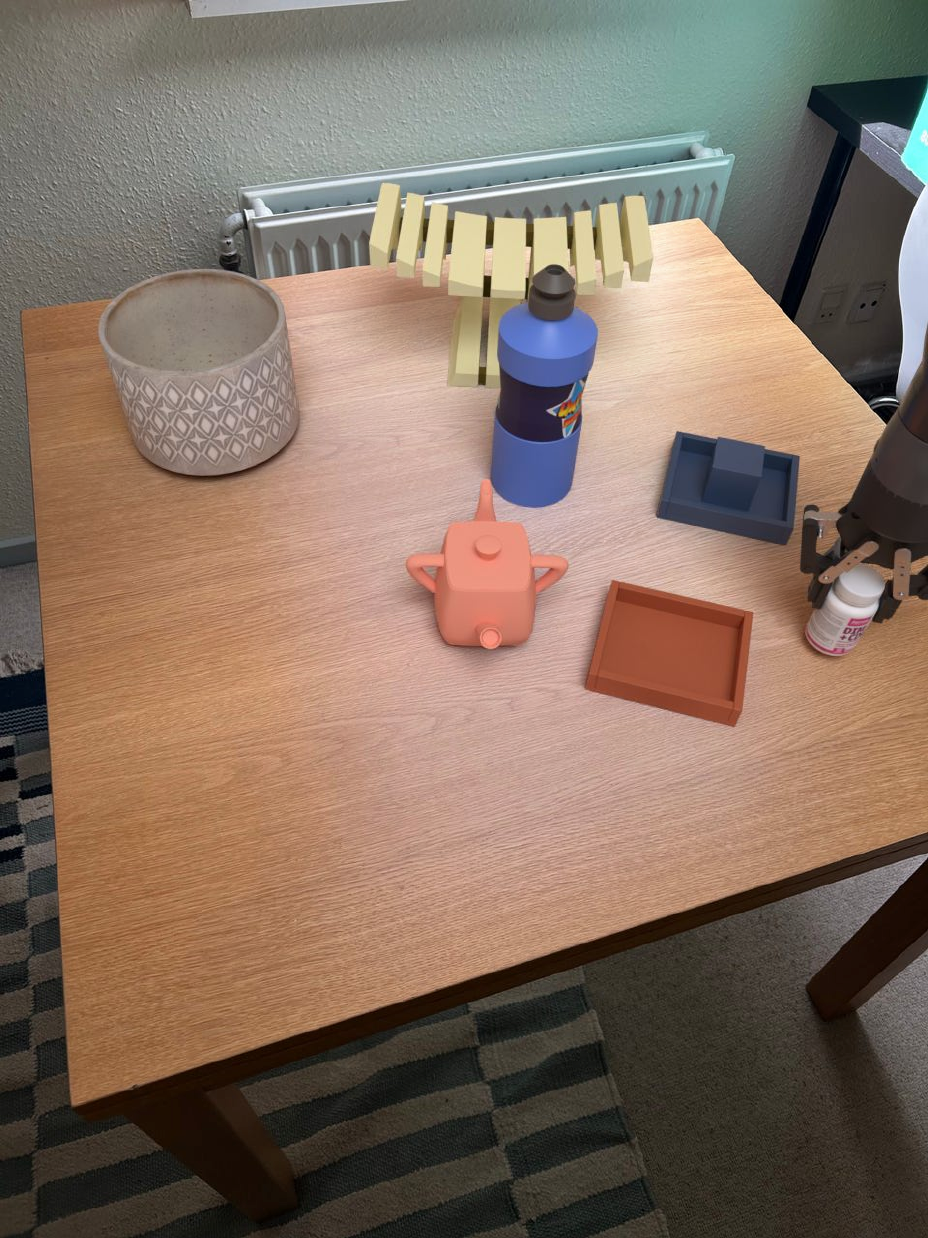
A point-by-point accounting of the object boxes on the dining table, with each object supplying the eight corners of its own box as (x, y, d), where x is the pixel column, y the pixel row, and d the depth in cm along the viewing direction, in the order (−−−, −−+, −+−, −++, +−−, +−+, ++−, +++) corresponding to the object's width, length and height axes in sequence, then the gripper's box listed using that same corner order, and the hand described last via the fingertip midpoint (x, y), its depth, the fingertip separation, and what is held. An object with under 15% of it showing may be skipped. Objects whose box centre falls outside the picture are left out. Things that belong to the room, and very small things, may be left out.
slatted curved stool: (617, 318, 120) (642, 183, 106) (625, 394, 110) (653, 257, 96) (389, 306, 120) (384, 170, 106) (376, 381, 110) (369, 242, 97)
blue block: (752, 480, 101) (765, 445, 97) (748, 511, 98) (761, 476, 94) (706, 471, 101) (717, 436, 97) (701, 501, 98) (712, 466, 94)
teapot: (579, 630, 88) (593, 559, 80) (485, 695, 83) (490, 626, 75) (482, 545, 94) (487, 471, 86) (390, 600, 89) (386, 527, 82)
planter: (331, 408, 107) (320, 298, 96) (236, 507, 97) (211, 397, 85) (202, 361, 112) (176, 251, 101) (98, 450, 102) (57, 338, 90)
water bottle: (588, 471, 102) (626, 263, 82) (545, 520, 97) (574, 312, 77) (517, 439, 105) (537, 231, 85) (472, 484, 100) (482, 275, 80)
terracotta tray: (746, 628, 88) (753, 611, 86) (734, 727, 81) (742, 711, 79) (607, 596, 90) (612, 579, 88) (584, 689, 84) (588, 673, 81)
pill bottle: (835, 666, 85) (868, 608, 78) (793, 634, 87) (822, 575, 80) (866, 640, 86) (900, 582, 80) (824, 610, 89) (855, 550, 82)
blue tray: (792, 473, 102) (800, 455, 100) (786, 545, 95) (793, 528, 93) (671, 448, 104) (676, 430, 102) (656, 517, 98) (661, 499, 95)
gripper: (824, 480, 69) (762, 621, 82) (1026, 521, 67) (928, 659, 80) (828, 419, 73) (769, 562, 87) (1017, 455, 71) (926, 596, 84)
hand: (846, 608), depth 83 cm, fingers closed on pill bottle, 4 cm apart
